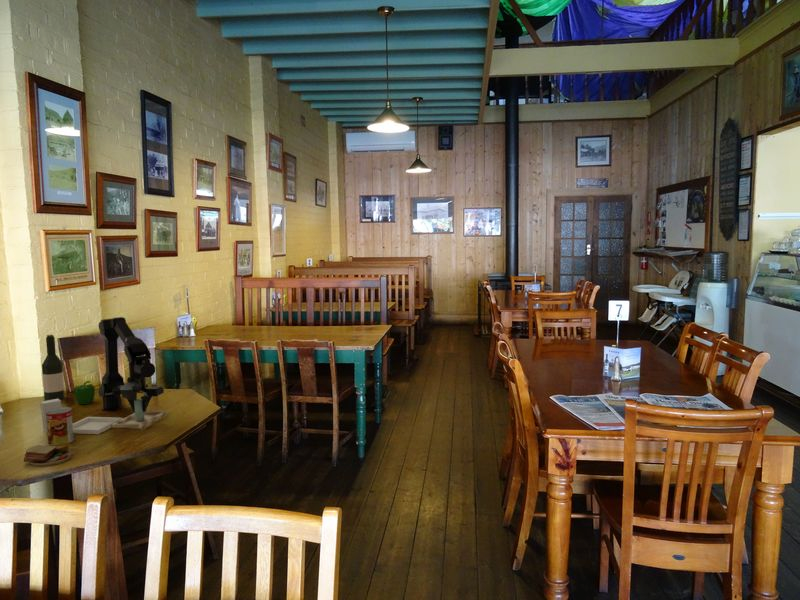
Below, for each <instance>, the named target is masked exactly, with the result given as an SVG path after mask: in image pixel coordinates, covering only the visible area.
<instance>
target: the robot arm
mask: <svg viewBox="0 0 800 600" xmlns="http://www.w3.org/2000/svg"><path fill="white" fill-rule="evenodd" d="M98 329H99V332H100V335H101V336H102V338H103V339H104V354H105V372H104V373H105V374H104V375H103V377H102V378H101V384H100V386H99V389H98V396H99V397H101V398H102V404H103V405H102V406H103V407H102V408H101V409H100V410H101V411H112V412H113V411H118V410H120V409H121V408H123V407H124V405H123V404H122V403H123V401H122V399H123V398H124V399H126V400H127V401H128V403H129V405H130V407H131V409H132V413H135V407H134V400H136V399H138V398H137V397H138V394H143V395H142V396H140V399H142V404H143V412H145V411H147V409H148V407H149V403H150V401H151V400H152V397H158V396H160V395H162V394H164V393H165V388H164V387H163V386H162V385H153V386H151V387H149V386H148V383H147V381H146V378H150V377H151V378H152V377H153V375H154V374H155V373H156V366H155V365H154V364H153V363H152V362H151V361H150V360H151V359H152V354H151V352H150V350H149V348H148V347H149V346H148V345H147V344H146V343H145V341H143V340H142V339H141V338H139V337H137V336H135V334H134V332H133V331H132V329H131V327H130V326H129V325H128V323H127V320H126V318H125V317H123V316H119V317H112V318H104V319H103V318H102V319H101V320H100V321H99V322H98ZM119 338H120V340H121V341H122V343H123V345H124V346H123V347H124V348H123V351H124V354H125V356H126V358H127V362H128V373H129V374H128V375H129V376H128V377H127V379H126V383H125V382H124V377H123V376H122V375H121V373H119V351H118V350H119V349H118V348H119V347H118V339H119ZM146 383H147V384H146ZM148 387H149V388H148Z"/></svg>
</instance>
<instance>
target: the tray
mask: <svg viewBox="0 0 800 600" xmlns="http://www.w3.org/2000/svg"><path fill="white" fill-rule="evenodd" d="M165 415H166V416H167V411H165V410H146V411H145V412H144V417H145V419H144V420H142V421H135V412H132V414H129V415H127V416H126V417H124V418H123V417H122V418H123V419H121V420H120V421H118V422H116V423H114V424H112V427H111V428H112V429H114V428H115V429H135V430H136V429H139V430H140V429H142V430H143V429H145V428H147V427H149V426H150V425H149V424H151V423H152V424H154V423H156V422H157V421H156V420H158V419H159V420H161V419H162V417H163V418H164V416H165ZM166 416H165V417H166ZM160 418H161V419H160ZM159 420H158V421H159ZM155 421H156V422H155ZM153 422H154V423H153ZM152 424H151V425H152ZM148 425H149V426H148ZM146 426H147V427H146ZM144 427H145V428H144Z"/></svg>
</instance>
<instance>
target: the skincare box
mask: <svg viewBox="0 0 800 600" xmlns="http://www.w3.org/2000/svg"><path fill="white" fill-rule="evenodd" d="M60 407H62V400H59V399H53V400H48V401H45V400H44V401H43V400H42V401H40V409H41V410H40V411H41V418H42V419H41V421H42V430H43V432H44V433H45V434H48V433H47V420H46V411H48V410H50V409H54V408H60Z"/></svg>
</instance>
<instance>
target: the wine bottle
mask: <svg viewBox="0 0 800 600" xmlns="http://www.w3.org/2000/svg"><path fill="white" fill-rule="evenodd" d="M55 340H56V339H55V336H54V334H47V335H46V337H45V342H46V343H45V344H46V345H45V346H46V356H45V359H44V360H43V362H42V364H41V370H42V383H43V384H42V385H43V397H44V401H48V400H53V399H59V400H61V401H62V400H65V398H66V392H65V379H64V365H63V361H62V360H61V359H60V357H59V356H58V355H57V353H56V352H57V350H56V341H55Z"/></svg>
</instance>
